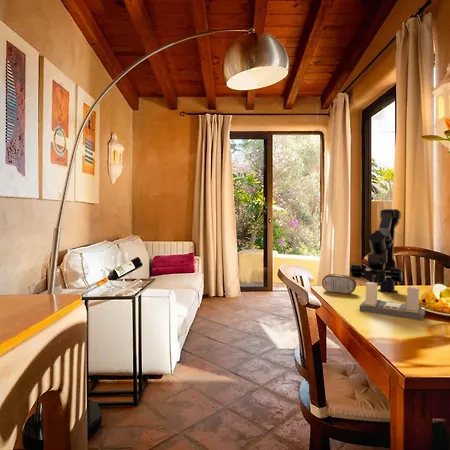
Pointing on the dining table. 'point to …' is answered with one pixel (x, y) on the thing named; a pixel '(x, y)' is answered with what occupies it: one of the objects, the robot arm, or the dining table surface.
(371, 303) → the tab offwhite
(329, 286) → the tin
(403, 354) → the dining table surface
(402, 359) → the dining table surface
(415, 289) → the tab grey
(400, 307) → the switch bank
